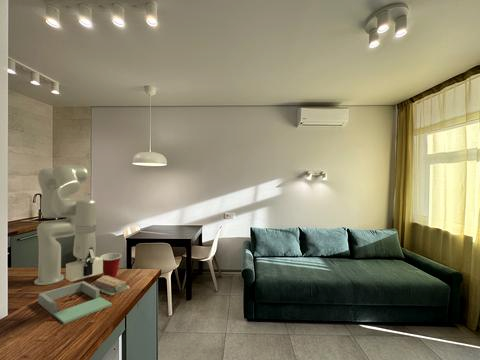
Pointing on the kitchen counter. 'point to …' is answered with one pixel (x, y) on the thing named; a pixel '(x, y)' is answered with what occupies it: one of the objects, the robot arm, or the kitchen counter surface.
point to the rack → (65, 294)
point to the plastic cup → (111, 264)
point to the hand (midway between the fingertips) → (84, 273)
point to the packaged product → (110, 285)
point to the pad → (81, 310)
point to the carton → (82, 269)
